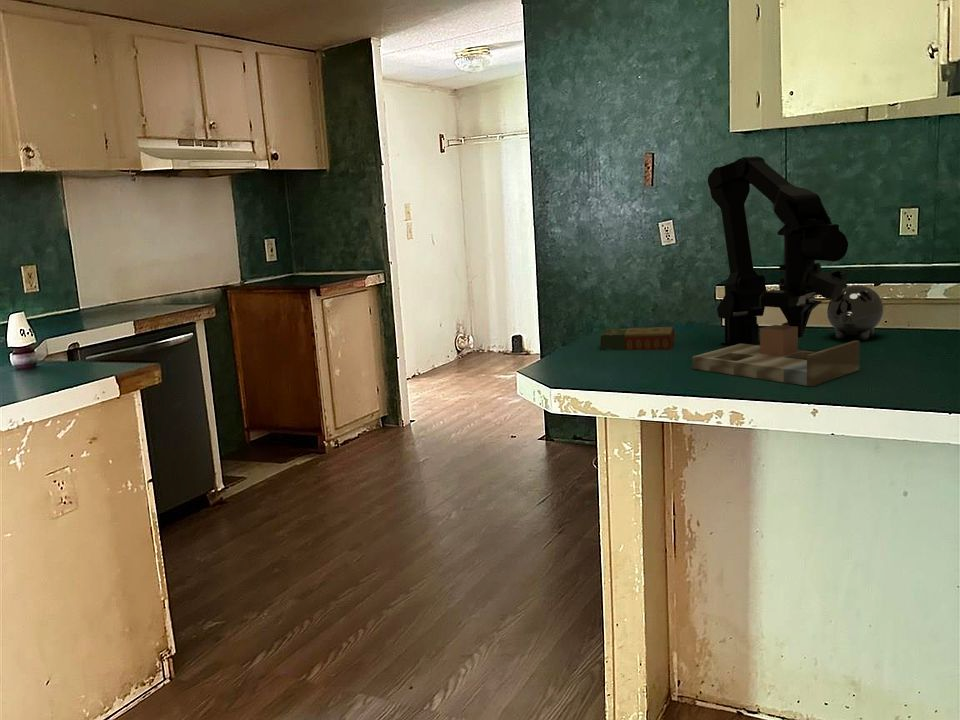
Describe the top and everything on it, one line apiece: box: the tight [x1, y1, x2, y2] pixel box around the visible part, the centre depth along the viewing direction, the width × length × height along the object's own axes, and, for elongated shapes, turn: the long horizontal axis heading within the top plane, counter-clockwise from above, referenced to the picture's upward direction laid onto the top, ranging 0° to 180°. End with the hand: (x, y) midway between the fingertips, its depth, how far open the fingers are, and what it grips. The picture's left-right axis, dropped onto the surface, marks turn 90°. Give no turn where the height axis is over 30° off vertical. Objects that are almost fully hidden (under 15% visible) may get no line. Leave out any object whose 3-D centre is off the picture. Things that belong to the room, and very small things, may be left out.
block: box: [759, 324, 799, 356], centre depth 160 cm, size 5×5×5 cm
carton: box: [599, 326, 675, 351], centre depth 190 cm, size 8×16×4 cm, turn 73°
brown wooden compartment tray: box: [692, 339, 861, 387], centre depth 158 cm, size 26×16×6 cm, turn 38°
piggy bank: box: [826, 284, 884, 341], centre depth 182 cm, size 11×15×12 cm
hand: (799, 337), depth 165 cm, fingers closed
